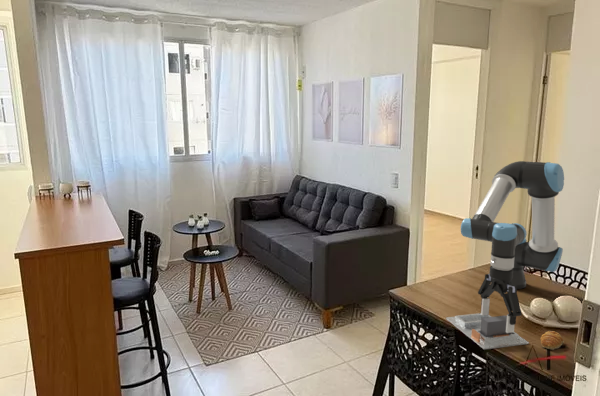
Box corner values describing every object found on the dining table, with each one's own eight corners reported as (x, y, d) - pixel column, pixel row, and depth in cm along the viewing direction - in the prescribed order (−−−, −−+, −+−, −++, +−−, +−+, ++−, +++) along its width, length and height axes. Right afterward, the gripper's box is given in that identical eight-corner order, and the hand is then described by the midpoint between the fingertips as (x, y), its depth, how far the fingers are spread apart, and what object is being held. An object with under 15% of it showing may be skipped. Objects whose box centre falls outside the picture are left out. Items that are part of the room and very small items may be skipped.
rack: (485, 314, 174) (486, 306, 173) (528, 343, 151) (529, 334, 150) (446, 318, 170) (446, 310, 169) (484, 349, 147) (484, 339, 146)
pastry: (558, 353, 145) (559, 343, 144) (536, 347, 149) (537, 336, 148) (564, 343, 151) (565, 333, 151) (542, 337, 156) (543, 327, 155)
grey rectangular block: (503, 333, 157) (505, 315, 156) (510, 337, 154) (512, 319, 152) (480, 335, 155) (481, 317, 154) (486, 340, 151) (487, 322, 150)
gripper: (470, 257, 161) (466, 309, 165) (517, 280, 137) (511, 341, 141) (488, 255, 163) (483, 307, 166) (537, 278, 139) (531, 338, 142)
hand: (496, 323), depth 153 cm, fingers open, 13 cm apart
